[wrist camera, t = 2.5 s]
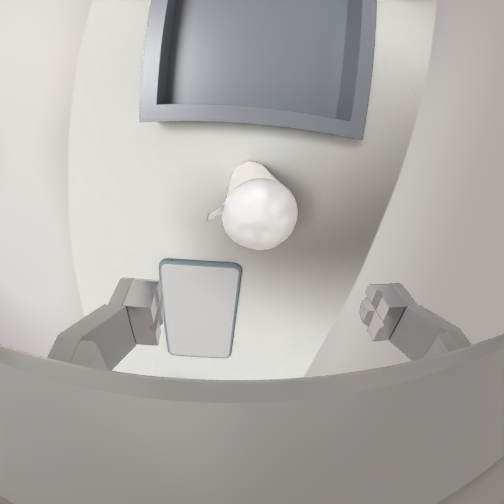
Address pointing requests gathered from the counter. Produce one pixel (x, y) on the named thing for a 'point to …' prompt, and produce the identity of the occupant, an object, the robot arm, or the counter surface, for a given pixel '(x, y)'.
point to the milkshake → (257, 208)
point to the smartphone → (199, 306)
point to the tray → (260, 63)
